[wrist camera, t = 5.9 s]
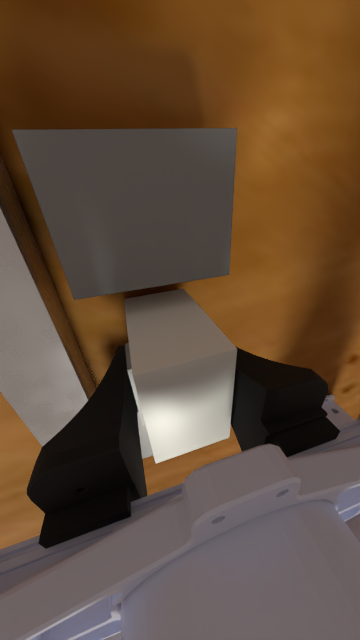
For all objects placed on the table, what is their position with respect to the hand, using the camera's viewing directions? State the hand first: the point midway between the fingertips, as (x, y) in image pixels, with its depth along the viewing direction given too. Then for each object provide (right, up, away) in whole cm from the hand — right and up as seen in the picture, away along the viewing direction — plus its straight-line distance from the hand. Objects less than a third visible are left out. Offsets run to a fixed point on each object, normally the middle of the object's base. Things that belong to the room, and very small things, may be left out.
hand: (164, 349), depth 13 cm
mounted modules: (-1, +2, +3) cm, 3 cm away
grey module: (0, +1, +2) cm, 2 cm away
